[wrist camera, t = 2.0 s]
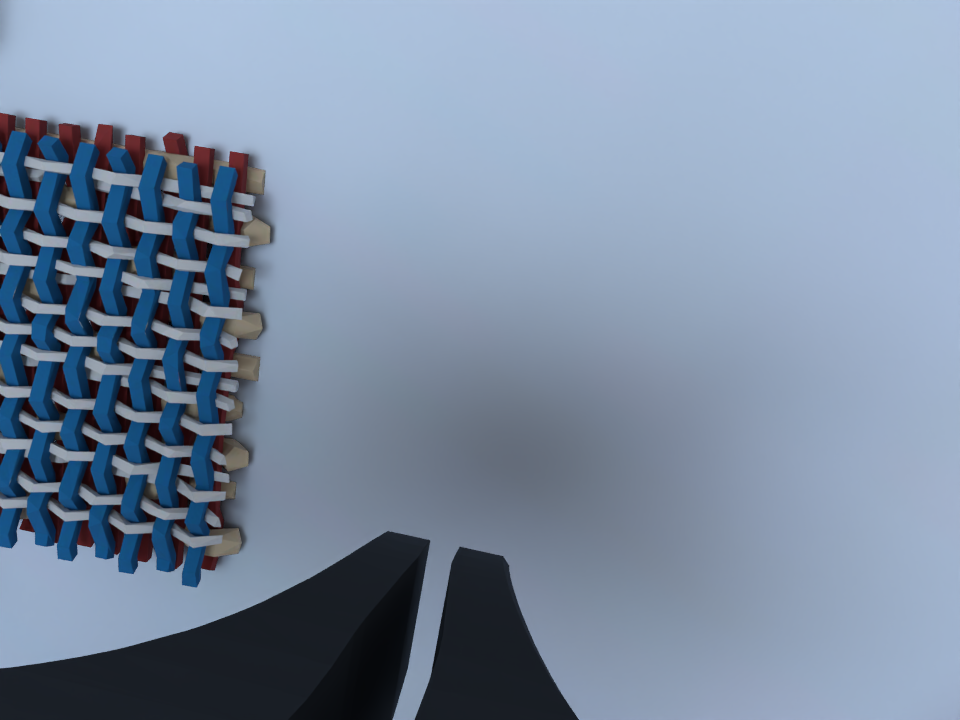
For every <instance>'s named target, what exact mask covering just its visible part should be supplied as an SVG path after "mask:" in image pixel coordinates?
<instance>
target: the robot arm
mask: <svg viewBox="0 0 960 720" xmlns="http://www.w3.org/2000/svg"><path fill="white" fill-rule="evenodd" d="M429 544H430V540H426V539H422V538H417V537H413V536H408V535H404V534H399V533H394V532H390V531H387V532H386V533H384V534H382V535H380V536H379V537H377V538H375V539H374V540H372V541H371V542H369V543H367V544H366V545H364V546H362V547H361V548H359V549H358V550H356V551H355V552H353V553H351V554H350V555H348V556H346V557H345V558H343V559H342V560H340V561H338V562H337V563H335V564H333V565H332V566H330V567H328V568H327V569H325V570H323V571H321V572H320V573H318V574H316V575H315V576H313V577H311V578H309V579H307V580H305V581H303V582H301V583H299V584H297V585H295V586H293V587H291V588H289V589H287V590H285V591H283V592H281V593H279V594H277V595H275V596H273V597H271V598H270V599H268V600H266V601H264V602H261V603H259V604H257V605H254V606H252V607H250V608H247V609H245V610H243V611H240V612H238V613H235V614H233V615H230V616H227V617H225V618H222V619H219V620H216V621H214V622H211V623H208V624H205V625H203V626H200V627H197V628H194V629H191V630H188V631H184V632H180V633H177V634H173V635H169V636H166V637H162V638H158V639H155V640H151V641H147V642H144V643H140V644H136V645H133V646H129V647H125V648H121V649H117V650H112V651H107V652H102V653H97V654H92V655H87V656H82V657H77V658H71V659H65V660H59V661H53V662H47V663H40V664H34V665H26V666H19V667H11V668H1V669H0V720H392V719H393V716H394V713H395V709H396V706H397V703H398V699H399V696H400V693H401V689H402V686H403V683H404V679H405V676H406V672H407V669H408V664H409V658H410V652H411V647H412V641H413V635H414V630H415V624H416V618H417V613H418V607H419V601H420V596H421V590H422V584H423V579H424V573H425V567H426V561H427V556H428V550H429ZM415 720H579V719H578V718H577V716H576V715H575V713H574V712H573V711H572V709H571V708H570V706H569V705H568V703H567V702H566V700H565V699H564V697H563V695H562V694H561V692H560V691H559V689H558V687H557V685H556V684H555V682H554V680H553V679H552V677H551V675H550V673H549V671H548V669H547V667H546V666H545V664H544V662H543V660H542V658H541V656H540V654H539V652H538V650H537V648H536V646H535V644H534V642H533V639H532V637H531V635H530V632H529V630H528V628H527V625H526V623H525V620H524V618H523V616H522V613H521V610H520V608H519V605H518V602H517V599H516V596H515V593H514V589H513V586H512V582H511V578H510V572H509V565H508V563H507V562H506V560H505V559H504V557H503V556H499V555H495V554H490V553H486V552H481V551H477V550H472V549H467V548H463V547H459V549H458V551H457V553H456V555H455V557H454V559H453V561H452V564H451V570H450V575H449V580H448V586H447V591H446V597H445V602H444V608H443V613H442V618H441V624H440V629H439V635H438V640H437V646H436V651H435V656H434V662H433V667H432V673H431V677H430V680H429V683H428V686H427V689H426V691H425V694H424V697H423V699H422V702H421V704H420V707H419V710H418V712H417V715H416V718H415Z"/></svg>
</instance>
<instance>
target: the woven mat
mask: <svg viewBox="0 0 960 720" xmlns="http://www.w3.org/2000/svg"><path fill="white" fill-rule="evenodd" d="M15 121H16V116H14V115H9V114H3V113H0V546H1V547H6V548H12V547H13V546H14V545H15V543H16V542H17V532H16V530H17V527H18V523H19V520H20V519H23V521H22V524H21V526H20V529H21V530H26V531H30V532H35V544H36V545H41V546H46V547H47V546H53V545H54V543H58V544H57V553H58V559H62V560H68V561H73V560H74V558H75V557H76V555H77V554H78V553H77V545H82V546H87V547H92V545H93V544H94V543H95V545H96V547H95V557H98V558H103V559H110V558H114V554H116V555H118V554H119V553H120V554H119V558H118V563H119V572H124V573H130V574H134V572H135V570H136V569H137V567H138V561H142V562H147V561H148V560H149V559H150V558H151V556H152V549H153V546H154V549H155V552H156V555H157V570H160V571H165V572H171V571H174V570H175V569H177V568H178V567H179V566H180V565H181V564H182V563H183V552H184V545H185V546H187V547H188V552H187V556H186V560H185V564H184V568H183V572H182V585H186V586H191V587H197V586H198V584H199V582H200V579H201V568H202V569H207V570H215V568H216V564H217V561H218V557H219V556H224V555H231V554H238V553H239V550H240V547H241V544H242V541H241V537H240V533H239V528H225V529H223V525H224V519H223V516H222V513H221V511H220V501H223V500H225V499H235V491H236V482H233V481H229V474H226V473H222V466H223V467H224V468H225V469H226V470H227V471H228V472H229V471H233V470H236V469H240V468H243V467H247V466H248V456H249V452H248V451H247V450H246V449H245V448H244V447H243V446H242V445H241V444H240V443H239V442H238V441H236V440H235V439H232V438H224V435H232V423H230V424H225V421H232V420H235V419H239V418H242V411H243V403H242V402H241V401H239V400H238V399H236V398H235V396H233V395H230V394H229V391H231V392H236V391H237V390H238V388H239V384H238V381H236V380H231V377H236V378H242V379H247V380H252V381H258V376H259V366H260V357H256V356H251V355H245V354H240V353H235V349H236V347H237V346H238V339H239V338H244V339H254V340H256V339H257V337H258V336H259V334H260V332H261V331H262V329H263V327H262V322H261V316H260V313H251V312H243V306H244V301H246V294H247V289H251V290H253V289H254V279H255V268H252V267H248V266H243V265H240V262H241V248H242V247H244V248H248V247H249V246H255V245H262V244H269V243H270V226H268V225H267V224H265V223H264V222H262V221H261V220H259V219H257V218H256V217H254V216H252V213H251V210H247V209H245V205H248V206H254V203H255V199H256V197H255V196H253V195H248V194H246V192H248V193H255V194H262V195H264V183H265V170H261V169H257V168H252V167H248V156H249V154H243V153H237V152H231V151H230V156H229V162H225V161H220V160H214V153H215V149H211V148H205V147H199V146H195V148H194V157H193V156H188V152H187V148H186V144H185V140H184V136H183V135H182V134H177V133H172V132H169V133H168V134H167V135H165V136H164V137H163V141H164V145H165V149H166V152H163V151H155V150H147V149H145V138H146V137H140V136H135V135H125V146H123V145H117V144H113V126H111V125H103V124H98V129H97V133H96V137H95V141H93V140H87V139H81V133H80V126H79V125H73V124H68V123H63V124H59V135H58V134H52V133H47V121H43V120H38V119H31V118H26V120H25V129H22V128H17V127H15ZM65 181H66V184H67V186H66V185H65ZM161 190H164V191H163V193H161ZM58 215H61V216H64V217H65V218H64V220H63V222H62V223H61V220H60V218H59V216H58ZM207 243H211V244H213V247H212V249H211V252H210V255H209V258H206V251H207ZM174 247H175V250H176V251H174ZM172 277H173V280H172ZM204 281H205V282H206V284H204ZM241 288H245V289H241ZM203 295H208V296H209V298H210V302H202V301H203ZM24 307H25V308H26V309H27V310H26V312H25V309H24ZM87 318H88V319H90V322H91V324H92V326H91V325H90V323H89V321H88V319H87ZM169 322H172V325H173V327H171V326H169ZM168 337H170V339H169V340H167V339H168ZM85 366H86V367H85ZM199 371H202V374H199ZM165 379H166V384H164V380H165ZM51 399H52V400H54V402H55V404H53V402H52V400H51ZM132 404H133V409H132ZM54 439H55V440H57V442H56V443H55V442H53V441H54ZM188 498H189V499H190V500H191V503H190V506H189V508H187V504H188ZM124 533H125V535H124Z"/></svg>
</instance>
